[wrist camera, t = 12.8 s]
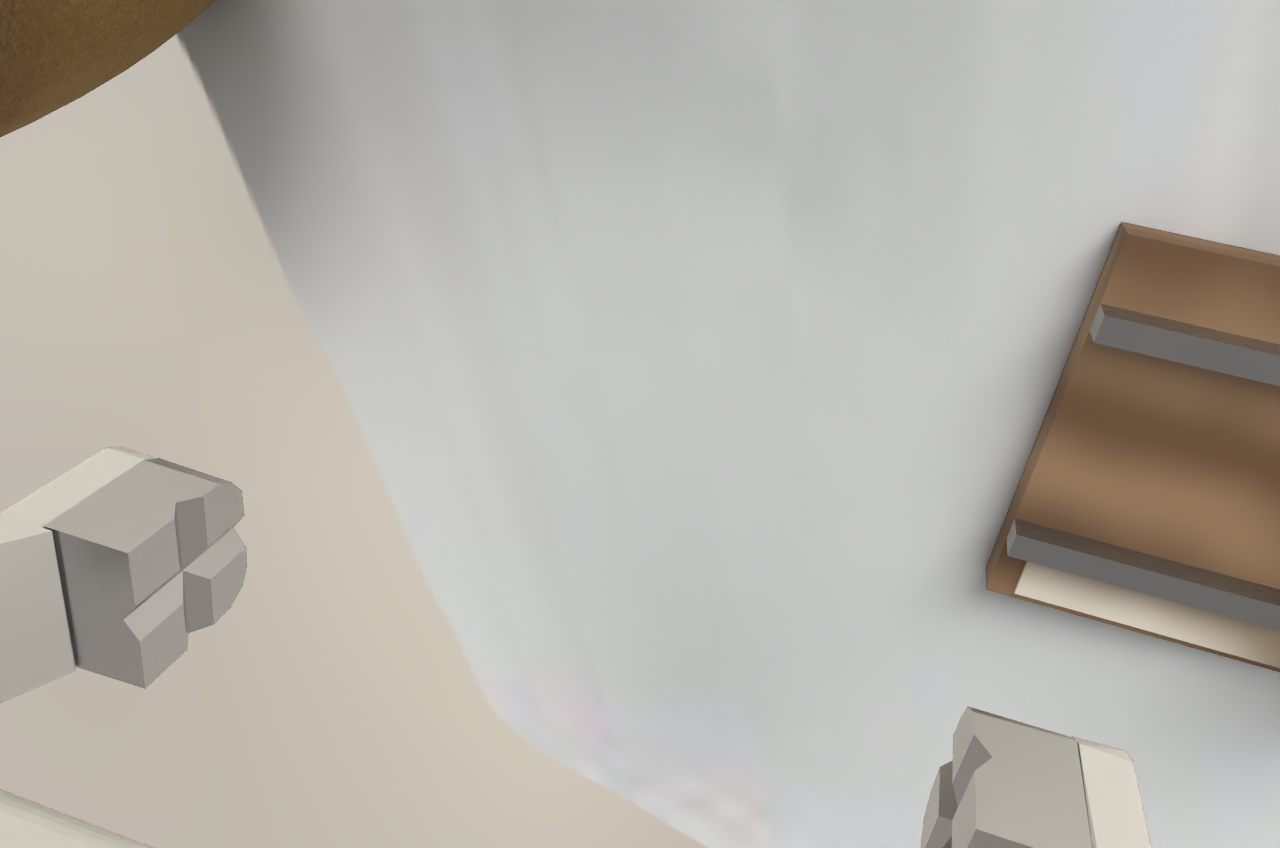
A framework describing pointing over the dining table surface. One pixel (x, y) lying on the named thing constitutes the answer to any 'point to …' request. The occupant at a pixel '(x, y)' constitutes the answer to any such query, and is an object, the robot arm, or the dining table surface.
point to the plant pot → (76, 48)
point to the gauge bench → (1161, 448)
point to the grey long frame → (1141, 568)
